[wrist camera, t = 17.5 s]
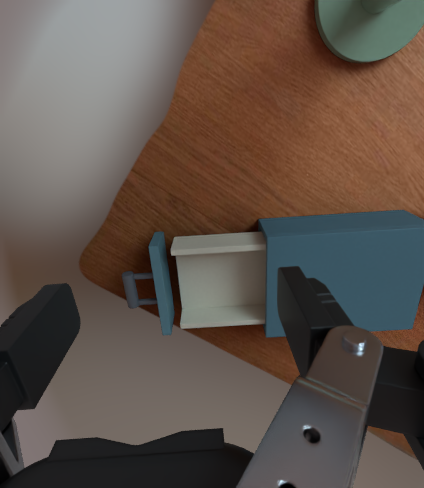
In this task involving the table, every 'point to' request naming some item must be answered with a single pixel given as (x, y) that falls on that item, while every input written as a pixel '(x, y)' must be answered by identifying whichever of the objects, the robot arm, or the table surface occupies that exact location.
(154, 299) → the drawer
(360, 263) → the cabinet
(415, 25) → the cake stand
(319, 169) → the table surface
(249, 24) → the table surface
